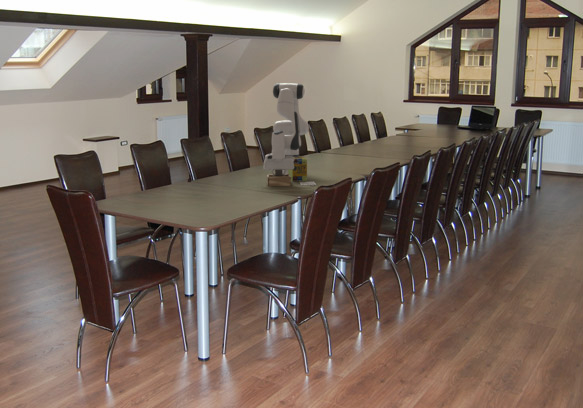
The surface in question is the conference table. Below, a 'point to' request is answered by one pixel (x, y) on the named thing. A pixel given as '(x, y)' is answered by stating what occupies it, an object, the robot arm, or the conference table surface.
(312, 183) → the felt pad
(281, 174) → the capped block
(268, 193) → the conference table surface
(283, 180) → the brown wooden open box
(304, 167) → the protein box
